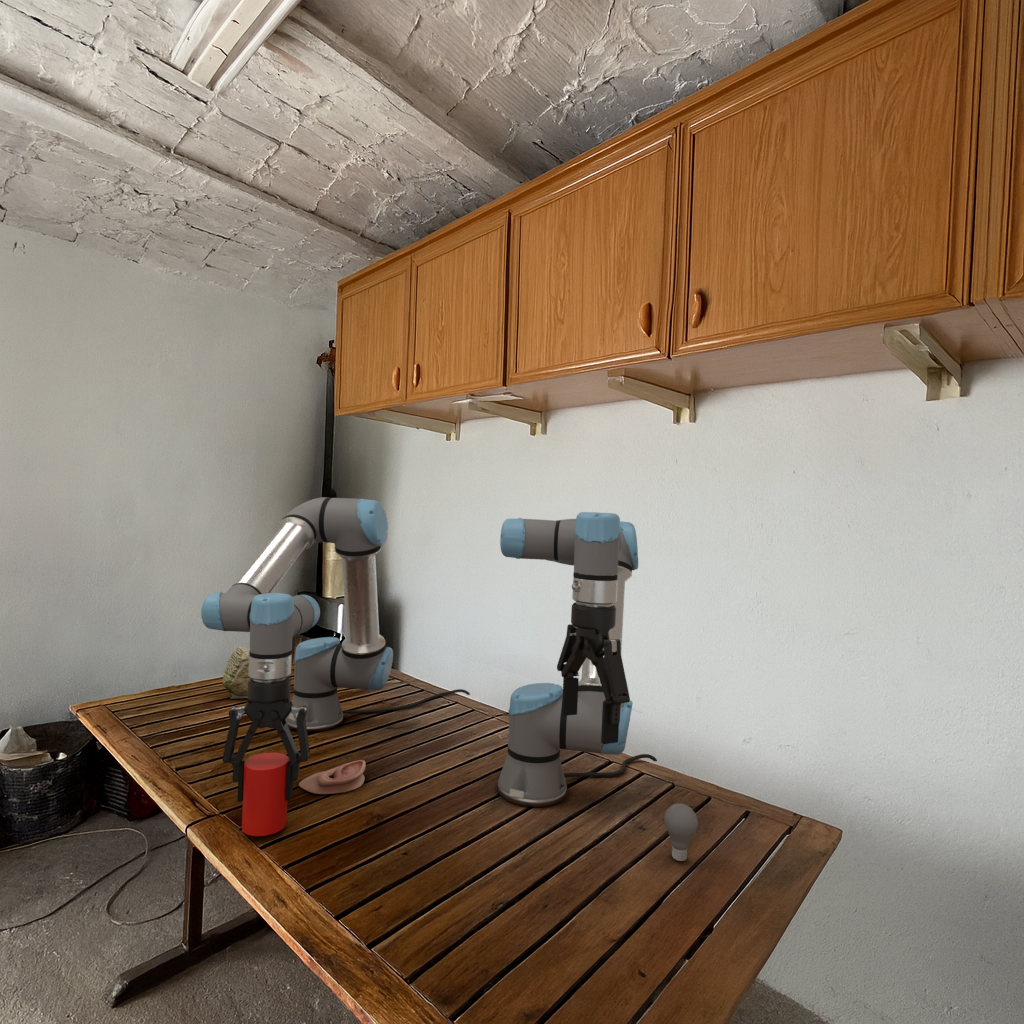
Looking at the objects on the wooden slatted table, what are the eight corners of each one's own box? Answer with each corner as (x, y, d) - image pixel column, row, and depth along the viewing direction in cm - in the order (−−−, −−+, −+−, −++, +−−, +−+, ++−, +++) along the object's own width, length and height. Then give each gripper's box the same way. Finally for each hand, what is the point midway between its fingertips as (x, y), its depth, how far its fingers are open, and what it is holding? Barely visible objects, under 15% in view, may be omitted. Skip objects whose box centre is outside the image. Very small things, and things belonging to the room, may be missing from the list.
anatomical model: (291, 772, 135) (318, 751, 147) (291, 790, 136) (317, 768, 147) (349, 780, 133) (372, 758, 144) (348, 799, 133) (371, 776, 144)
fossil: (218, 695, 195) (220, 647, 195) (278, 685, 208) (279, 640, 207) (228, 703, 189) (230, 653, 188) (289, 692, 201) (290, 645, 201)
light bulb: (658, 850, 118) (660, 797, 118) (689, 850, 119) (691, 797, 119) (668, 869, 112) (671, 813, 112) (701, 868, 113) (704, 813, 113)
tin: (268, 839, 114) (270, 772, 114) (232, 831, 116) (234, 765, 116) (295, 819, 122) (297, 756, 121) (260, 811, 124) (263, 749, 124)
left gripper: (204, 683, 113) (200, 809, 114) (324, 683, 116) (319, 805, 117) (217, 671, 121) (213, 789, 121) (329, 671, 124) (325, 787, 124)
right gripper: (542, 592, 117) (537, 706, 118) (614, 617, 94) (608, 759, 95) (577, 591, 120) (572, 702, 121) (656, 616, 97) (650, 753, 98)
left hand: (265, 797), depth 119 cm, fingers closed on tin, 8 cm apart
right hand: (588, 727), depth 108 cm, fingers open, 13 cm apart
